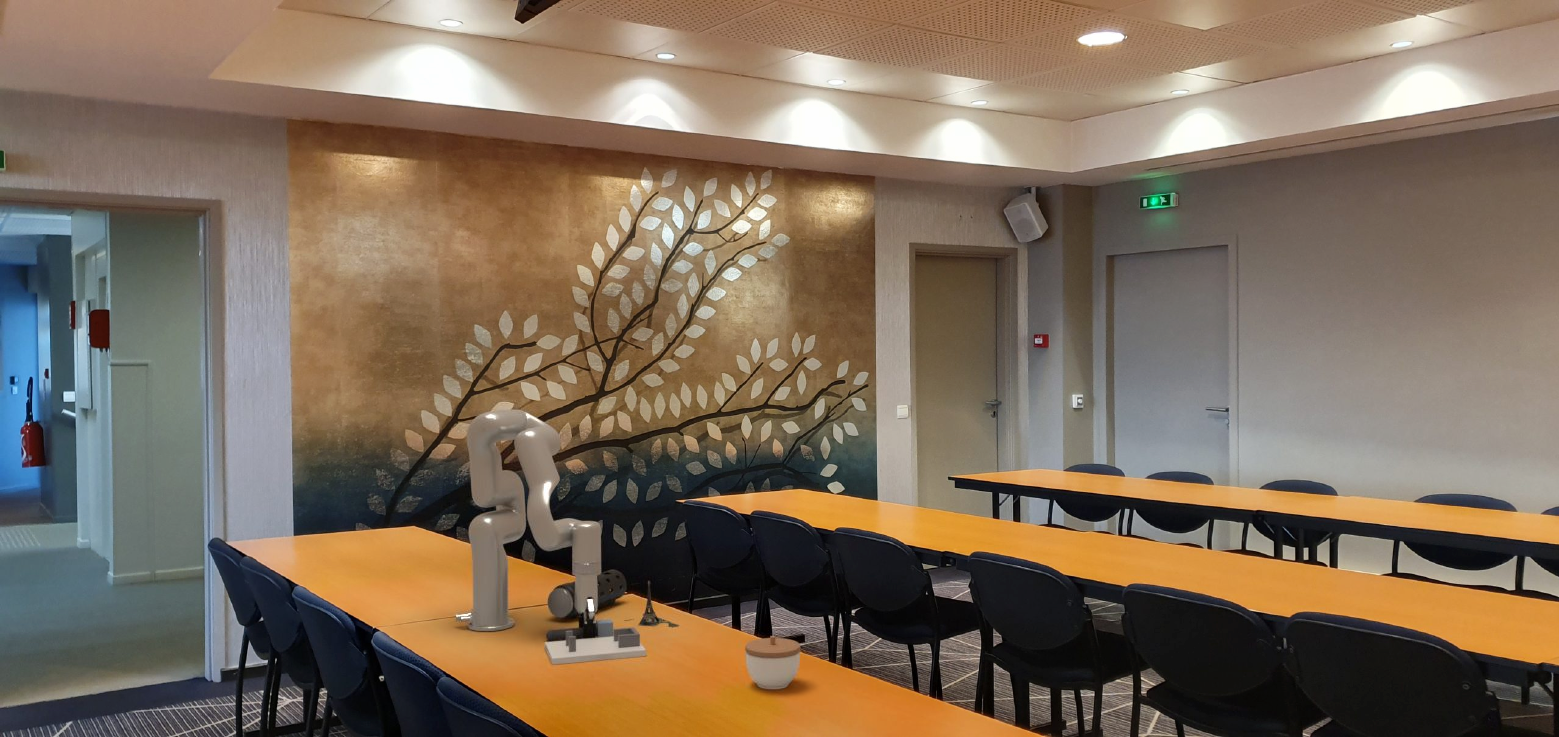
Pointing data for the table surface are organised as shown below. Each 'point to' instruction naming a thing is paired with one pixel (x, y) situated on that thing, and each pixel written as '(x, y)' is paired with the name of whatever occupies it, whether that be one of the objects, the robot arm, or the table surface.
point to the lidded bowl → (772, 661)
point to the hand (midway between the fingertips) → (587, 634)
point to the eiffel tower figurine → (651, 615)
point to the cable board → (596, 647)
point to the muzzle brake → (564, 594)
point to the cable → (602, 630)
